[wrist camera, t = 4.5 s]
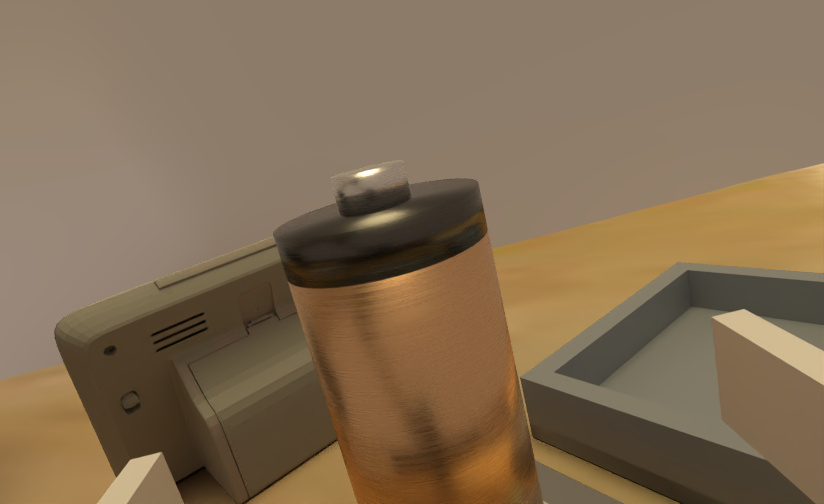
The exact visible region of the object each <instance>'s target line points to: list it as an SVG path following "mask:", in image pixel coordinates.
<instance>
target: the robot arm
mask: <svg viewBox="0 0 824 504" xmlns="http://www.w3.org/2000/svg"><path fill="white" fill-rule="evenodd" d="M711 318H712V328H713V338H714V348H715V358H716V368H717V378H718V388H719V397H720V407H721V417H722V420H723V421H724V422H725V423H726V424H727V425H728V426H729V427H731V428H732V429H733V430H734V431H735V432H736V433H737V434H738V435H740V436H741V437H742V438H743V439H744V440H745V441H746V442H747V443H748V444H750V445H751V446H752V447H753V448H754V449H755V450H756V451H757V452H758V453H760V454H761V455H762V456H763V457H764V458H765V459H766V460H767V461H769V462H770V463H771V464H772V465H773V466H774V467H775V468H776V469H777V470H779V471H780V472H781V473H782V474H783V475H784V476H785V477H786V478H788V479H789V480H790V481H791V482H792V483H793V484H794V485H795V486H796V487H798V488H799V489H800V490H801V491H802V492H803V493H804V494H805V495H807V496H808V497H809V498H810V499H811V500H812V501H813V502H814V503H815V504H824V351H822V350H821V349H819V348H817V347H815V346H813V345H811V344H809V343H807V342H805V341H804V340H802V339H800V338H798V337H796V336H794V335H792V334H790V333H788V332H787V331H785V330H783V329H781V328H779V327H777V326H775V325H773V324H771V323H770V322H768V321H766V320H764V319H762V318H760V317H758V316H756V315H754V314H753V313H751V312H749V311H747V310H745V309H742V310H738V311H734V312H730V313H726V314H722V315H717V316H713V317H711ZM97 504H184V502H183V500H182V498H181V495H180V493H179V491H178V488H177V486H176V484H175V481H174V479H173V477H172V474H171V472H170V470H169V467H168V465H167V463H166V461H165V458H164V456H163V454H162V452H160V453H156V454H152V455H148V456H143V457H139V458H135V459H131V460H130V461H129V462H128V463H127V465H126V466H125V467H124V469H123V470H122V471H121V473H120V474H119V475H118V477H117V478H116V479H115V481H114V482H113V483H112V485H111V486H110V487H109V489H108V490H107V491H106V493H105V494H104V495H103V497H102V498H101V499H100V501H99V502H98V503H97Z"/></svg>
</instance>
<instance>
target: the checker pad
mask: <svg viewBox="0 0 824 504" xmlns="http://www.w3.org/2000/svg"><path fill="white" fill-rule="evenodd" d="M535 464H536V469H537V474H538V479H539V484H540V489H541V494H542V499H543V503H544V504H623V503H621V502H619V501H617V500H615V499H613V498H611V497H609V496H607V495H605V494H603V493H601V492H599V491H597V490H595V489H592V488H590V487H588V486H586V485H584V484H582V483H580V482H578V481H576V480H574V479H572V478H570V477H568V476H566V475H564V474H562V473H560V472H558V471H556V470H554V469H552V468H550V467H548V466H545V465H543V464H541V463H539V462H537V461H535Z"/></svg>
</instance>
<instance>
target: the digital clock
mask: <svg viewBox="0 0 824 504" xmlns="http://www.w3.org/2000/svg"><path fill="white" fill-rule="evenodd" d="M55 340H56V343H57V347H58V349H59V352H60V354H61V357H62V359H63V362H64V364H65V366H66V368H67V371H68V373H69V375H70V377H71V379H72V382H73V384H74V386H75V388H76V390H77V393H78V395H79V397H80V399H81V401H82V403H83V406H84V408H85V410H86V412H87V414H88V417H89V419H90V421H91V423H92V425H93V428H94V430H95V432H96V434H97V436H98V439H99V441H100V443H101V445H102V447H103V450H104V452H105V454H106V456H107V458H108V460H109V463H110V465H111V467H112V469H113V471H114V474H115V476H116V478H117V477H118V475H119V474H120V473H121V471H122V470H123V469H124V467H125V466H126V465H127V463H128V462H129V461H130V460H131V459H135V458H139V457H143V456H148V455H152V454H156V453H160V452H162V454H163V456H164V458H165V461H166V463H167V465H168V467H169V470H170V472H171V474H172V477H173V479H174V481H175V483H176V482H178V481H179V480H181V479H183V478H184V477H186V476H188V475H189V474H191V473H193V472H194V471H196V470H198V469H200V468H201V467H203V466H204V467H205V468H206V469H207V470H208V472H209V473H210V474H211V475H212V476H213V477H214V478H215V480H216V481H217V482H218V483H219V484H220V485H221V486H222V487H223V489H224V490H225V491H226V492H227V493H228V494H229V495H230V496H231V498H232V499H233V500H234V501H235V502H236V503H237V504H242V503H244V502H245V501H247V500H248V499H250V498H251V497H253V496H254V495H256V494H257V493H259V492H260V491H261V490H263V489H264V488H266V487H267V486H269V485H270V484H272V483H273V482H275V481H276V480H278V479H279V478H281V477H282V476H284V475H285V474H286V473H288V472H289V471H291V470H292V469H294V468H295V467H297V466H298V465H300V464H301V463H303V462H304V461H306V460H307V459H308V458H310V457H311V456H313V455H314V454H316V453H317V452H319V451H320V450H322V449H323V448H325V447H326V446H328V445H329V444H330V443H332V442H333V441H335V440H336V439H337V437H336V433H335V430H334V427H333V424H332V421H331V417H330V414H329V411H328V408H327V405H326V402H325V398H324V395H323V392H322V389H321V386H320V382H319V379H318V376H317V373H316V370H315V367H314V363H313V360H312V357H311V354H310V351H309V347H308V344H307V341H306V338H305V335H304V332H303V328H302V325H301V322H300V319H299V316H298V312H297V309H296V306H295V303H294V300H293V297H292V293H291V290H290V287H289V284H288V281H287V277H286V274H285V271H284V268H283V265H282V262H281V258H280V255H279V252H278V249H277V246H276V242H275V239H274V236H273V237H270V238H268V239H265V240H262V241H259V242H257V243H254V244H251V245H249V246H246V247H243V248H240V249H238V250H235V251H232V252H230V253H227V254H224V255H221V256H218V257H216V258H213V259H210V260H208V261H205V262H202V263H200V264H197V265H194V266H191V267H188V268H186V269H183V270H180V271H178V272H175V273H172V274H169V275H167V276H164V277H161V278H159V279H156V280H153V281H150V282H147V283H145V284H142V285H139V286H137V287H134V288H131V289H129V290H126V291H123V292H121V293H118V294H115V295H113V296H110V297H108V298H105V299H103V300H100V301H97V302H95V303H92V304H90V305H87V306H85V307H83V308H80V309H78V310H76V311H74V312H72V313H71V314H69V315H67V316H66V317H64V318H63V319H62V320H61V321H60V322H59V323H58V324H57V325H56V328H55Z"/></svg>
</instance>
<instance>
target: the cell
mask: <svg viewBox="0 0 824 504" xmlns="http://www.w3.org/2000/svg"><path fill="white" fill-rule="evenodd" d="M330 180H331V185H332V188H333V192H334V195H335V199H336V203H335V204H332V205H329V206H326V207H323V208H320V209H318V210H315V211H312V212H309V213H307V214H304V215H302V216H300V217H297V218H295V219H293V220H291V221H289V222H286V223H285V224H283V225H281V226H280V227H278V228H277V229H276V230H275V231H274V232H273V236H274V239H275V242H276V246H277V249H278V252H279V255H280V258H281V262H282V265H283V268H284V271H285V274H286V277H287V281H288V284H289V287H290V290H291V293H292V297H293V300H294V303H295V306H296V309H297V312H298V316H299V319H300V322H301V325H302V328H303V332H304V335H305V338H306V341H307V344H308V347H309V351H310V354H311V357H312V360H313V363H314V367H315V370H316V373H317V376H318V379H319V382H320V386H321V389H322V392H323V395H324V398H325V402H326V405H327V408H328V411H329V414H330V417H331V421H332V424H333V427H334V430H335V433H336V437H337V440H338V443H339V446H340V449H341V452H342V456H343V459H344V462H345V465H346V468H347V472H348V475H349V478H350V481H351V484H352V487H353V491H354V494H355V497H356V500H357V503H358V504H544V503H543V499H542V494H541V489H540V484H539V479H538V474H537V469H536V464H535V459H534V454H533V449H532V445H531V440H530V435H529V430H528V425H527V420H526V415H525V410H524V405H523V400H522V395H521V390H520V386H519V381H518V376H517V371H516V366H515V361H514V356H513V351H512V346H511V341H510V336H509V332H508V327H507V322H506V317H505V312H504V307H503V302H502V297H501V292H500V287H499V282H498V277H497V273H496V268H495V263H494V258H493V253H492V248H491V243H490V238H489V234H488V228H487V224H486V219H485V214H484V209H483V204H482V199H481V194H480V189H479V184H478V182H477V181H476V180H473V179H444V180H436V181H429V182H422V183H417V184H411V185H409V184H408V180H407V175H406V171H405V167H404V163H403V160H395V161H390V162H384V163H379V164H375V165H370V166H366V167H363V168H358V169H355V170H351V171H348V172H344V173H341V174H338V175H336V176H333V177H331V178H330Z"/></svg>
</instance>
